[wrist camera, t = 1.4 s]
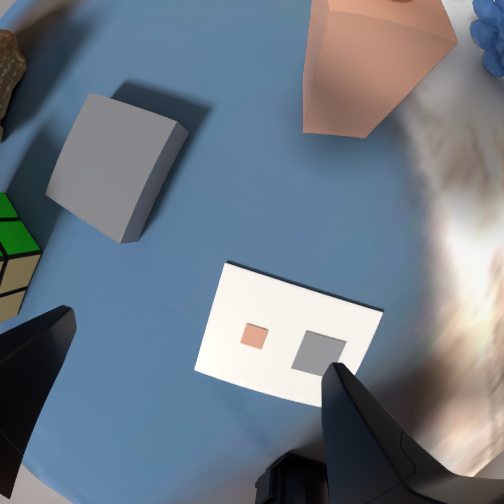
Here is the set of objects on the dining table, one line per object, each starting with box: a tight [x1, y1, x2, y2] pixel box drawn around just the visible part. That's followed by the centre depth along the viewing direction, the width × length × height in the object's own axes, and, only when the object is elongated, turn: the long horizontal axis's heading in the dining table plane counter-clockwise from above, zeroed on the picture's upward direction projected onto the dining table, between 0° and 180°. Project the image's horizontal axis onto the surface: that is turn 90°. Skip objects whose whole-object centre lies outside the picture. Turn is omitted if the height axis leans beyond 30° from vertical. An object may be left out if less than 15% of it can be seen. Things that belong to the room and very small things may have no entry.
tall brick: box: [303, 0, 458, 138], centre depth 11 cm, size 4×4×14 cm
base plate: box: [45, 93, 189, 244], centre depth 19 cm, size 9×9×3 cm
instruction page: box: [195, 263, 383, 407], centre depth 20 cm, size 12×9×1 cm
